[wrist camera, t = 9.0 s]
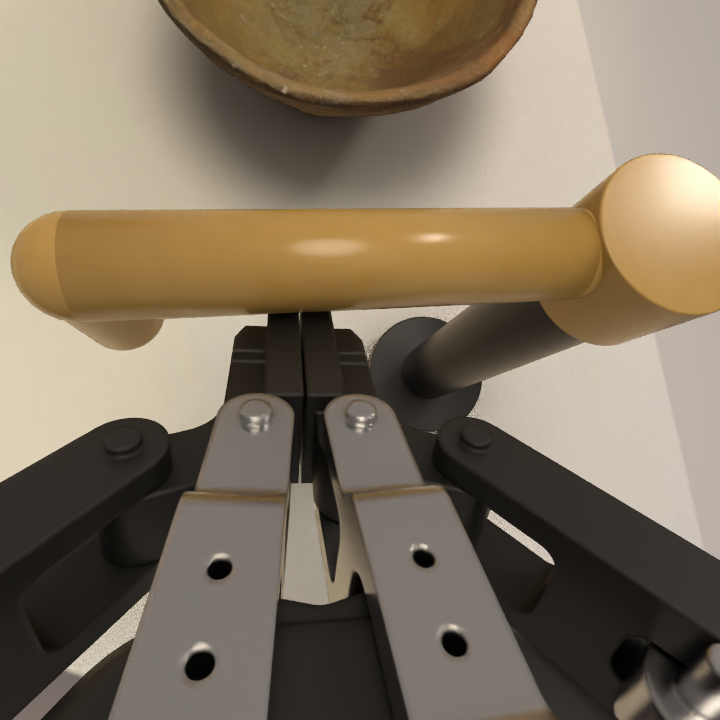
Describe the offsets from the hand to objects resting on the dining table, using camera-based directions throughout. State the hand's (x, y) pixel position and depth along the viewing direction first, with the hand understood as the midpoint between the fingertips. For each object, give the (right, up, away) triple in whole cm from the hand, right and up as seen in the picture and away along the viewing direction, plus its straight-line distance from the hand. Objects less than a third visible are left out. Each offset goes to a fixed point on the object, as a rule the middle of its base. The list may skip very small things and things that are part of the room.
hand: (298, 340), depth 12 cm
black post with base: (+5, -1, +18) cm, 19 cm away
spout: (+2, +1, +2) cm, 3 cm away
